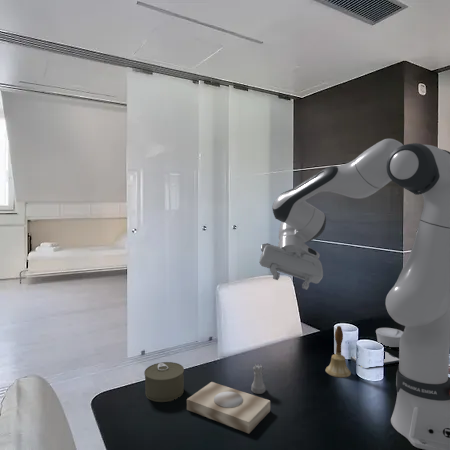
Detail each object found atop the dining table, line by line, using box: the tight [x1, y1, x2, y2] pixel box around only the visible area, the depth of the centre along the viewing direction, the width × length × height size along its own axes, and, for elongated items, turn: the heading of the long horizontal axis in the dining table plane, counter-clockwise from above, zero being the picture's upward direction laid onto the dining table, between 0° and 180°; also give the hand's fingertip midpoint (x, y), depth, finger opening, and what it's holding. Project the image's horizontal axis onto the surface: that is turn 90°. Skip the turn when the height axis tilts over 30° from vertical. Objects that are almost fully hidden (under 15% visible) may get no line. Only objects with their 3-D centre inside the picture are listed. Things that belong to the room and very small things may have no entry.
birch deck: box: [186, 381, 271, 435], centre depth 102 cm, size 20×12×3 cm, turn 57°
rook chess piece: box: [250, 363, 266, 395], centre depth 112 cm, size 4×4×8 cm
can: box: [144, 361, 185, 403], centre depth 112 cm, size 12×12×7 cm
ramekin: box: [375, 327, 404, 347], centre depth 149 cm, size 11×11×5 cm
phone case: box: [350, 351, 399, 365], centre depth 133 cm, size 9×2×16 cm
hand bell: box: [325, 325, 352, 378], centre depth 125 cm, size 8×8×16 cm
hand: (290, 283), depth 109 cm, fingers open, 8 cm apart
